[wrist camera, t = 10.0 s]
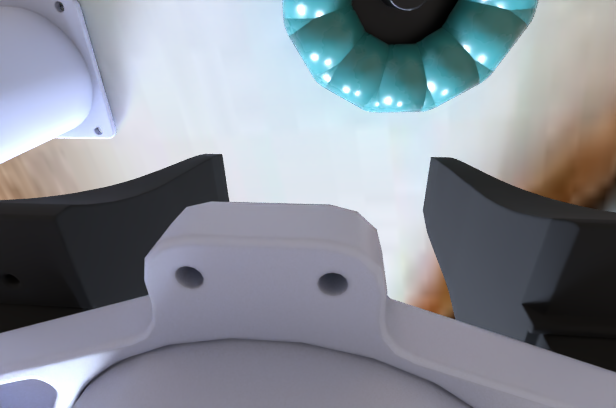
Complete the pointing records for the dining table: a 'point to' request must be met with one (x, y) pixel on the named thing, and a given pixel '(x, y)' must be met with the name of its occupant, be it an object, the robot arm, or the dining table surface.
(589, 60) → the dining table surface
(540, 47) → the dining table surface
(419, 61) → the ring
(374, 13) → the hook stand
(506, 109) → the dining table surface
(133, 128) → the dining table surface
